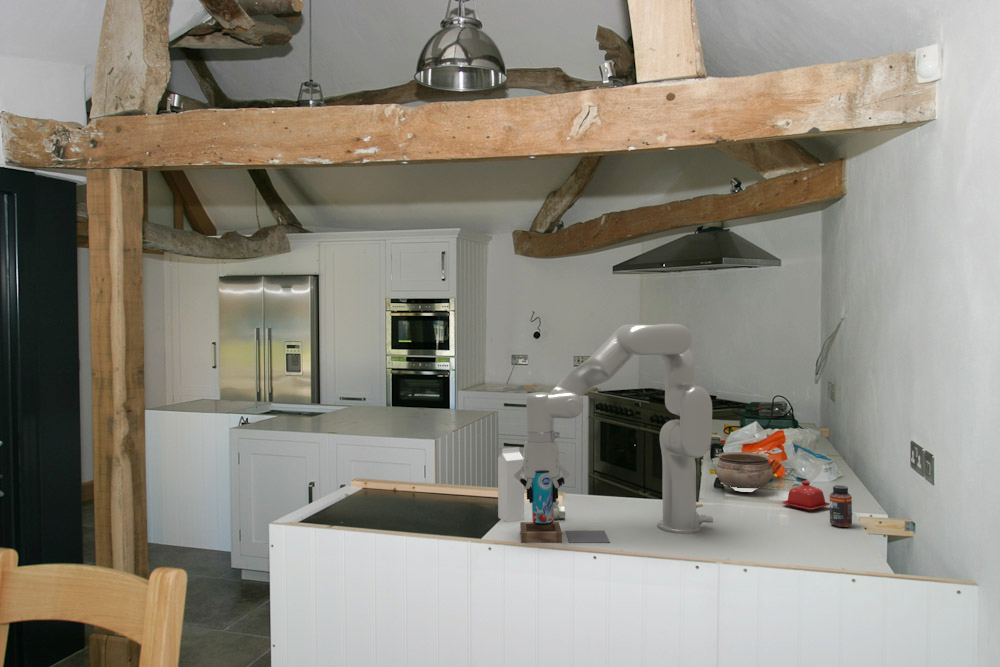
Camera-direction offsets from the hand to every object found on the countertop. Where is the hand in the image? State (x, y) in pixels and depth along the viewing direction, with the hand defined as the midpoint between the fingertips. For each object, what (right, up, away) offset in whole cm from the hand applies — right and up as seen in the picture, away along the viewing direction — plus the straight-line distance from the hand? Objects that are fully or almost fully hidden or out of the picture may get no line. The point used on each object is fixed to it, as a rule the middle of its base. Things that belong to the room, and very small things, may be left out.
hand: (542, 501), depth 202 cm
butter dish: (+88, -10, +33) cm, 94 cm away
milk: (-8, -10, +19) cm, 23 cm away
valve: (+5, -10, +19) cm, 22 cm away
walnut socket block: (0, -10, 0) cm, 10 cm away
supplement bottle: (+89, -10, +12) cm, 90 cm away
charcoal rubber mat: (+13, -10, 0) cm, 16 cm away
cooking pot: (+75, -9, +56) cm, 94 cm away
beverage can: (0, -6, 0) cm, 6 cm away
